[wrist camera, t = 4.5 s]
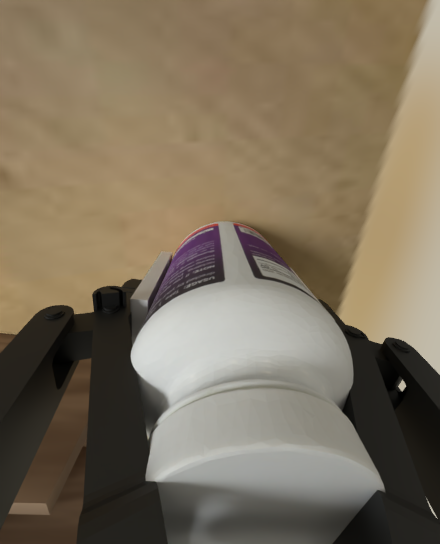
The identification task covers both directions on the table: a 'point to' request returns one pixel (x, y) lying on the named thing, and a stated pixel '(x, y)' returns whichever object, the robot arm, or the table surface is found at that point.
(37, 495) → the wooden drawer box
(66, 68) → the table surface
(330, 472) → the pill bottle
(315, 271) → the table surface
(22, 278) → the table surface
